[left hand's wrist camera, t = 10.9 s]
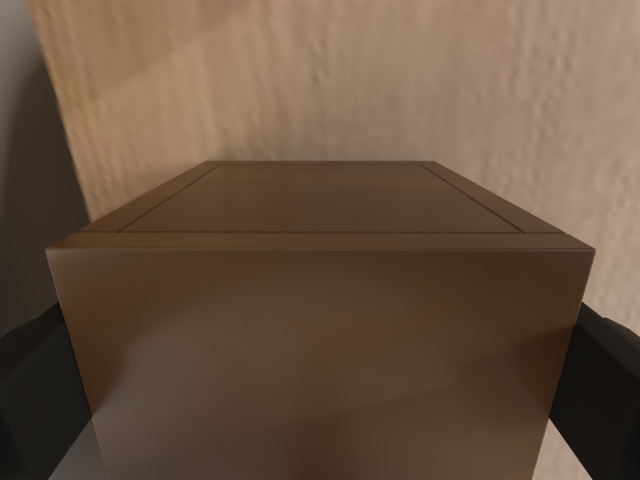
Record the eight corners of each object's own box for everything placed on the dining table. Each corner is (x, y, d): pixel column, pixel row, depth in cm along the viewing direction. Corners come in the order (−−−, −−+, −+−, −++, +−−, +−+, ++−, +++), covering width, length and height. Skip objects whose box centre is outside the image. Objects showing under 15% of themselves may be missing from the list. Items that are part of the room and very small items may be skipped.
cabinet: (406, 429, 24) (473, 689, 14) (233, 429, 24) (165, 688, 14) (435, 161, 18) (598, 248, 8) (205, 160, 18) (42, 248, 8)
